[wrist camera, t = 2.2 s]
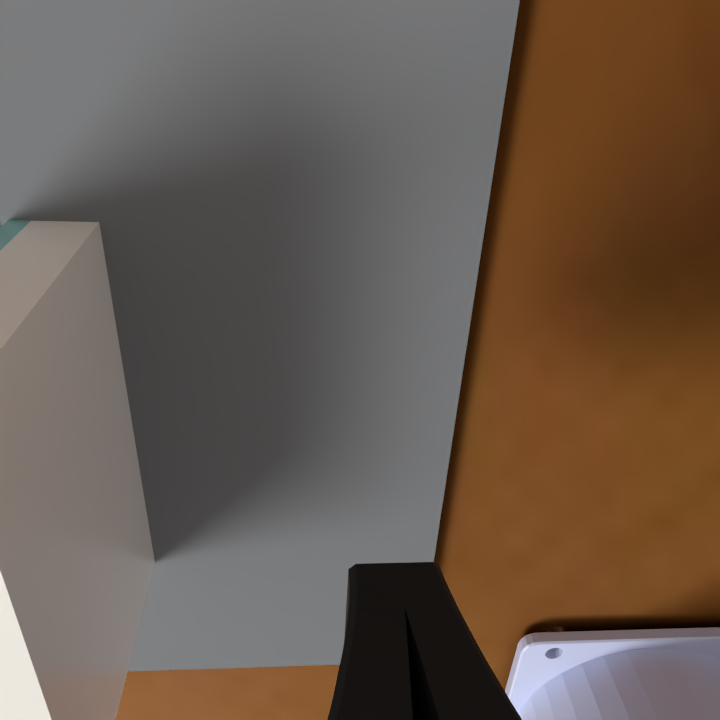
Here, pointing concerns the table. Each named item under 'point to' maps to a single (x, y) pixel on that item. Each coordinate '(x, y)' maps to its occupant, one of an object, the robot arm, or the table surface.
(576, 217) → the table surface
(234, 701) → the table surface
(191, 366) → the mat
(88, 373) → the tile
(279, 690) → the table surface
